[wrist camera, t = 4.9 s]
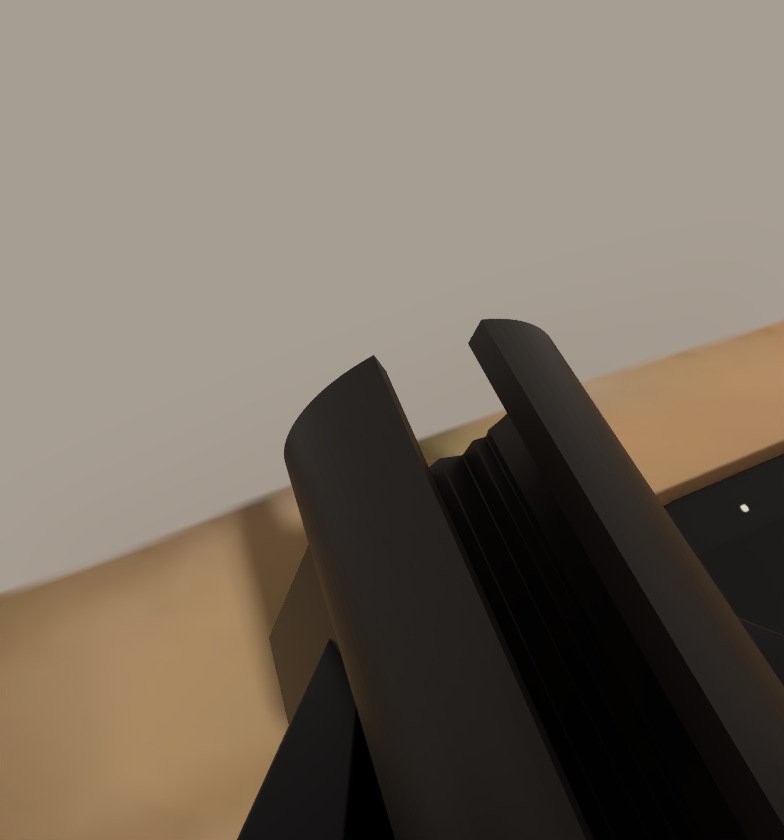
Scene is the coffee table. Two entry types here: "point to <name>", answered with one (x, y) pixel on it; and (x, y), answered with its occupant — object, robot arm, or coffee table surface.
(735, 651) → the phone stand
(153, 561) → the coffee table surface
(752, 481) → the cell phone
